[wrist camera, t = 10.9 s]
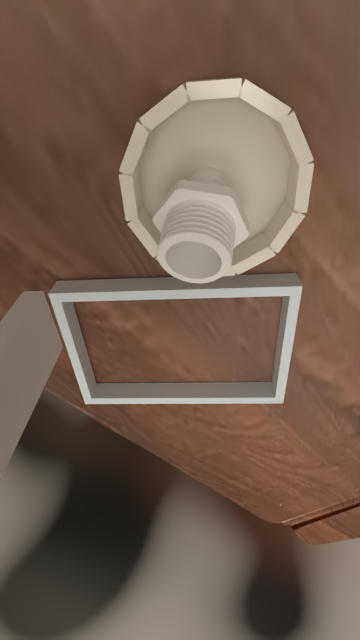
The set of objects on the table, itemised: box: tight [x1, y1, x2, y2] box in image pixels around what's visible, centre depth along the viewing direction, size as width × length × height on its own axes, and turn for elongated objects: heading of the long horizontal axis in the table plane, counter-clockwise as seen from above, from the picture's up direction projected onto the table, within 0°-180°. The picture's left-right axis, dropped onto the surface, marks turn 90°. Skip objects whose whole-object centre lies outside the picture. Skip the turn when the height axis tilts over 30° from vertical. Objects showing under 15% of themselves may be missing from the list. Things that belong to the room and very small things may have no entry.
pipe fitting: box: [152, 168, 250, 283], centre depth 26 cm, size 6×7×8 cm
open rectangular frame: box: [48, 273, 302, 404], centre depth 38 cm, size 16×24×2 cm, turn 94°
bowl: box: [118, 77, 314, 276], centre depth 27 cm, size 14×14×4 cm
